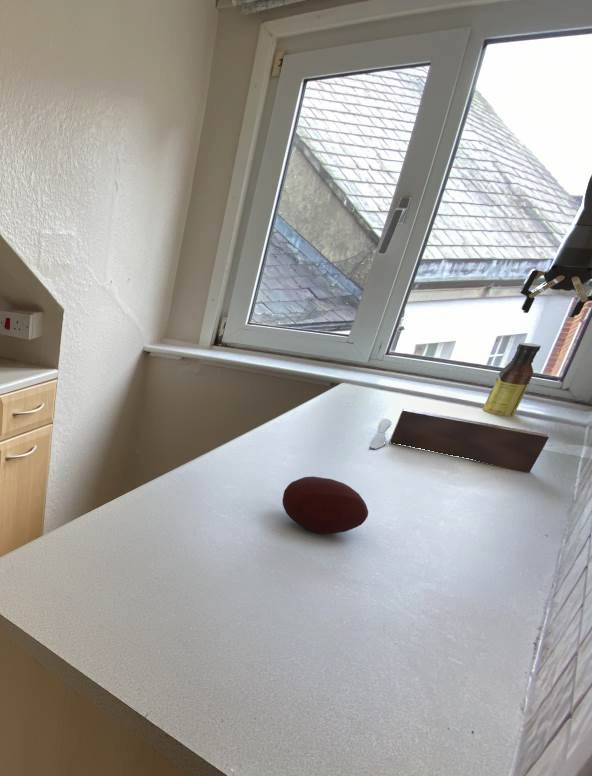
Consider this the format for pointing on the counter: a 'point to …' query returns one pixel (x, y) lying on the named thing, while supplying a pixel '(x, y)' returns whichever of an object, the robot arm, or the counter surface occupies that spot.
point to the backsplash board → (469, 439)
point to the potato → (324, 505)
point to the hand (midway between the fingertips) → (547, 314)
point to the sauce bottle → (512, 382)
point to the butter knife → (381, 434)
